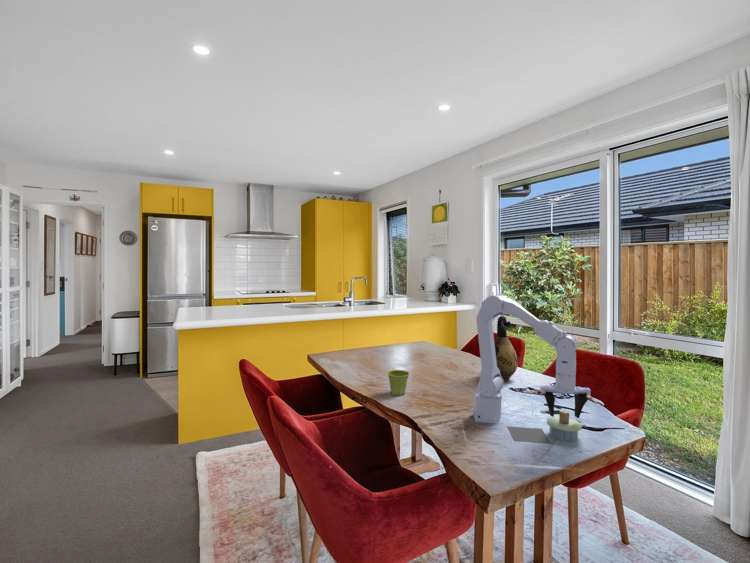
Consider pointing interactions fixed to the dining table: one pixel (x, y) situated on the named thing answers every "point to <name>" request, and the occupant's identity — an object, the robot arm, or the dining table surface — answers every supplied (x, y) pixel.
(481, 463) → the dining table surface
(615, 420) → the dining table surface
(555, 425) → the lid
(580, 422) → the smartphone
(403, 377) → the plant pot
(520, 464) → the dining table surface
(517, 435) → the mat
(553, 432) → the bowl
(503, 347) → the ceramic jug
